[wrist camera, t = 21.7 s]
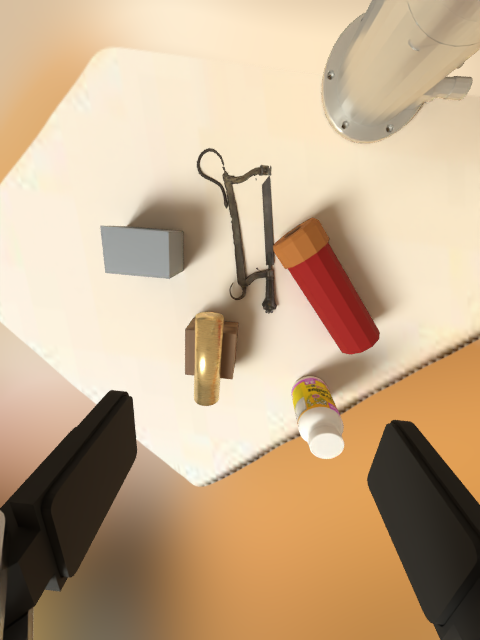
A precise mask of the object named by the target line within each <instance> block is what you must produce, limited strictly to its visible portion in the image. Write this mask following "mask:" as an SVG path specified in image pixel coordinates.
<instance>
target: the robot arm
mask: <svg viewBox="0 0 480 640" xmlns="http://www.w3.org/2000/svg"><path fill="white" fill-rule="evenodd" d="M478 50H480V0H372V2H371V3H370V5H369V7H368V10H367V11H366V13H364V14H362V15H360V16H359V17H358V18H356V19H355V20H354V21H353V22H352V23H351V24H349V26H348V27H347V28H346V29H345V30H344V31H343V33H342V34H341V35H340V37H339V38H338V40H337V41H336V43H335V45H334V46H333V49H332V51H331V53H330V55H329V57H328V60H327V63H326V66H325V69H324V74H323V79H322V93H321V94H322V103H323V108H324V111H325V114H326V117H327V119H328V121H329V123H330V125H331V126H332V127H333V128H334V130H335V131H336V132H337V133H338V134H340V135H341V136H342V137H343V138H345V139H347V140H350V141H352V142H356V143H361V144H362V143H374V142H378V141H381V140H383V139H385V138H388V137H390V136H391V135H393V134H394V133H396V132H397V131H399V130H400V129H401V128H402V127H404V126H405V125H406V124H407V123H408V122H409V121H410V120H411V119H412V118H413V117H414V115H415V114H416V113H417V111H418V110H419V108H420V107H421V105H422V104H423V102H424V101H425V102H430V101H433V100H434V99H435V98H443V99H447V100H461V99H463V98H464V97H465V96H466V94H467V93H468V91H469V90H470V87H471V85H472V78H471V77H461V76H454V77H446V76H447V75H448V74H449V73H451V72H452V71H453V70H455V69H456V68H460V67H461V66H462V65H463V64H464V62H465V61H466V60H467V59H468V58H470V57H471V56H472V55H473V54H475V53H476V52H477V51H478ZM328 77H330V78H331V80H330V79H328ZM342 126H344V127H345V129H343V128H342ZM386 129H388V132H387V131H386ZM136 454H137V444H136V432H135V421H134V409H133V399H132V397H131V396H129V395H128V393H127V392H124V391H114V390H111V391H109V392H108V393H107V394H106V395H105V396H104V397H103V398H102V400H101V401H100V402H99V403H98V404H97V405H96V406H95V408H93V410H92V411H91V412H90V413H89V414H88V415H87V416H86V418H84V419H83V421H82V422H81V423H80V424H79V425H78V426H77V427H75V428H74V429H73V430H72V431H71V432H70V433H69V434H68V435H67V436H66V437H65V438H64V439H63V440H62V441H61V443H60V444H59V445H58V446H57V447H56V448H55V449H54V450H53V451H52V452H51V454H50V455H49V456H48V457H47V458H46V459H45V460H44V461H43V462H42V463H41V464H40V466H39V467H38V468H37V469H36V470H35V471H34V472H33V473H32V474H31V475H30V477H29V478H28V479H27V480H26V481H25V482H24V483H23V484H22V485H21V486H20V488H19V489H18V490H17V491H16V492H15V493H14V494H13V495H12V496H11V497H10V498H9V500H8V501H7V502H6V503H5V504H4V505H3V506H2V507H1V508H0V640H33V607H34V606H35V605H36V603H37V602H38V600H39V598H40V597H41V595H42V593H43V591H44V590H45V589H46V590H53V591H61V589H62V587H63V585H64V584H65V582H66V580H67V578H68V577H72V576H73V575H74V574H75V573H76V571H77V570H78V568H79V566H80V564H81V562H82V561H83V559H84V557H85V555H86V553H87V551H88V549H89V547H90V545H91V543H92V541H93V539H94V538H95V535H96V534H97V532H98V530H99V528H100V526H101V524H102V522H103V520H104V518H105V516H106V514H107V513H108V511H109V509H110V507H111V505H112V503H113V501H114V499H115V497H116V495H117V493H118V491H119V490H120V488H121V486H122V484H123V482H124V480H125V478H126V476H127V474H128V472H129V471H130V468H131V467H132V465H133V463H134V461H135V458H136ZM367 481H368V486H369V489H370V491H371V494H372V496H373V498H374V500H375V503H376V505H377V507H378V510H379V512H380V514H381V516H382V519H383V521H384V523H385V526H386V528H387V530H388V532H389V535H390V537H391V539H392V542H393V544H394V546H395V548H396V551H397V553H398V555H399V557H400V560H401V562H402V564H403V567H404V569H405V571H406V573H407V576H408V578H409V580H410V583H411V585H412V587H413V589H414V592H415V594H416V596H417V598H418V601H419V603H420V606H421V608H422V610H423V612H424V614H425V616H426V618H427V619H428V620H429V621H430V622H431V623H433V624H434V626H435V629H436V631H437V633H438V635H439V638H440V640H480V505H479V503H478V502H477V501H476V500H475V498H474V497H473V496H472V495H471V493H470V492H469V491H468V490H467V489H466V487H465V486H464V485H463V484H462V482H461V481H460V480H459V479H458V477H457V476H456V475H455V474H454V473H453V471H452V470H451V469H450V468H449V466H448V465H447V464H446V463H445V462H444V460H443V459H442V458H441V457H440V455H439V454H438V453H437V452H436V450H435V449H434V448H433V447H432V445H431V444H430V443H429V442H428V441H427V439H426V438H425V437H424V436H423V434H422V433H421V432H420V431H419V429H418V428H417V427H416V426H415V425H414V424H413V423H412V422H408V421H400V420H393V421H391V423H390V424H387V425H386V427H385V430H384V432H383V435H382V438H381V441H380V443H379V446H378V449H377V452H376V454H375V457H374V460H373V463H372V465H371V468H370V471H369V474H368V478H367Z"/></svg>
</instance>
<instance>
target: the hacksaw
mask: <svg viewBox="0 0 480 640" xmlns="http://www.w3.org/2000/svg"><path fill="white" fill-rule="evenodd" d="M209 151H210V152H214V153H216V154H217V155H218V156H219V157H220V159H221V162H222V164H223V166H224V162H223V159H222V157H221V155H220V154H219V153H218V152H217V151H215V150H214V149H206V150H204V151H203V152H202V153H201V154H200V155H199V158H198V161H197V168H198V172H199V174H201V176H202V177H204V178H206V179H208V180H210V181H212V182H214V183H215V184H217V185H218V186H220V188H221V190H222V192H223V197H224V205H225V207H226V209H227V206H228V204H229V210H230V215H231V218H232V221H231V223H232V230H233V239H234V242H233V243H234V245H235V259H236V269H237V280H238V284H239V285H240V286H241V287H242V290H243V294H242V296H241V297H239V298H234V297H233V296H232V295H231V291H230V295H231V297H232V298H233V299H235V300H240V299H242V298H243V297H244V296H245V294H246V286H247V285H250V284H251V282H252V281H254V280H255V279H257V278H265V277H266V298H265V300H264V302H263V303H262V306H263V309H265V310H266V311H265V312H266V313H268V314H269V313H273V311H272V310H273V309H276V306H277V305H276V304H275V300H274V287H273V279H274V277H273V270H271V265H274V256H273V255H274V253H273V233H272V232H273V230H272V207H271V206H272V205H271V186H270V185H271V184H270V182H271V181H270V176H271V166H270V168H269V166H262V165H261V166H260V168H255V169H253V170H251V171H249V172H248V173H246V174H245V175H243V176H239V177H234V176H229V175H228V173H226V171H225V167H222V168H223V170H224V171H225V172H224V174H223V181H224V182H225V183H224V184H225V188H226V190H227V191H226V193H227V198H228V203H227V200H226V195H225V192H224V188H223V186H222V185H221V184H220V183H219V182H217V181H215V180H214V179H212V178H210V177H208V176H206V175H204V174H203V173H202V172H201V170H200V167H199V163H200V160H201V157H202V156H203V155H204V154H205V153H206V152H209ZM261 173H262V175H270V176H269V177H268V178H267V179H266V181H265V182H264V183H263V184H262V193H263V212H264V231H265V250H266V265H269V268H268V270H266V271H265V272H261V271H260V270H259V271H260V272H257V273H254V274H252V275H250V276H248V277H247V278H246V277H245V269H244V261H243V252H242V244H241V235H240V228H239V220H238V213H237V208H236V202H235V199H234V194H233V189H232V185H231V184H239V183H242V182H244V181H246V180H247V179H248V178H249V177H251V176H253V175H254V176H255V175H257V174H259V175H261ZM256 179H257V178H256ZM256 269H257V270H258V268H256ZM232 285H233V283H232ZM232 285H231V287H232ZM231 287H230V290H231Z"/></svg>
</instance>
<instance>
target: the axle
mask: <svg viewBox="0 0 480 640" xmlns="http://www.w3.org/2000/svg"><path fill="white" fill-rule="evenodd" d="M223 322H224V316H223V315H221V314H219V313H215V312H202V313H198V314H197V315H196V317H195V372H194V400H195V402H196V403H197V404H199V405H202V406H210V405H213V404H215V403H216V402H217V401H218V400H219V388H220V372H221V355H222V339H223Z"/></svg>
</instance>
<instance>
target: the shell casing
mask: <svg viewBox="0 0 480 640" xmlns="http://www.w3.org/2000/svg"><path fill="white" fill-rule="evenodd" d="M328 241H329V237H328V236H327V234H326V232H325V230H324V229H323V227H322V225H321V223H320V222H319V220H317V219H315V218H311V219H309V220H307V221H305V222H303V223H302V224H300V225H299V226H297V227H296V228H294V229H293V230H291V231H290V232H288V233H287V234H286V235H284V236H283V237H282V238H281V239H279V240H278V241H277V242H276V243H275V244H274V245H273V251H274V253H275V254H276V256H277V257H278V259H279V260H280V262H281V263H282V265H283V266H284V268H285V269H287V268H288V270H289V271H290V273H291V274H292V276H293V277H294V279H295V280H296V282H297V284H298V285H299V287H300V288H301V290H302V291H303V293H304V294H305V296H306V297H307V299H308V301H309V302H310V304H311V305H312V307H313V308H314V310H315V311H316V313H317V314H318V316H319V318H320V319H321V321H322V322H323V324H324V325H325V327H326V328H327V330H328V332H329V333H330V335H331V336H332V338H333V339H334V341H335V342H336V344H337V345H338V347H339V348H340V350H341V351H342V353H346V354H356V353H361V352H363V351H365V350H367V349H369V348H371V347H372V346H373V345H374V344H375V343H376V342H377V341H378V340H379V334H380V332H379V330H378V328H377V327H376V325H375V323H374V321H373V320H372V318H371V316H370V315H369V313H368V311H367V309H366V308H365V306H364V304H363V302H362V301H361V299H360V297H359V295H358V294H357V292H356V290H355V288H354V287H353V285H352V283H351V281H350V280H349V278H348V276H347V275H346V273H345V271H344V269H343V268H342V266H341V264H340V262H339V261H338V259H337V257H336V255H335V254H334V252H333V250H332V248H331V247H330V245H329V243H328Z"/></svg>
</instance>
